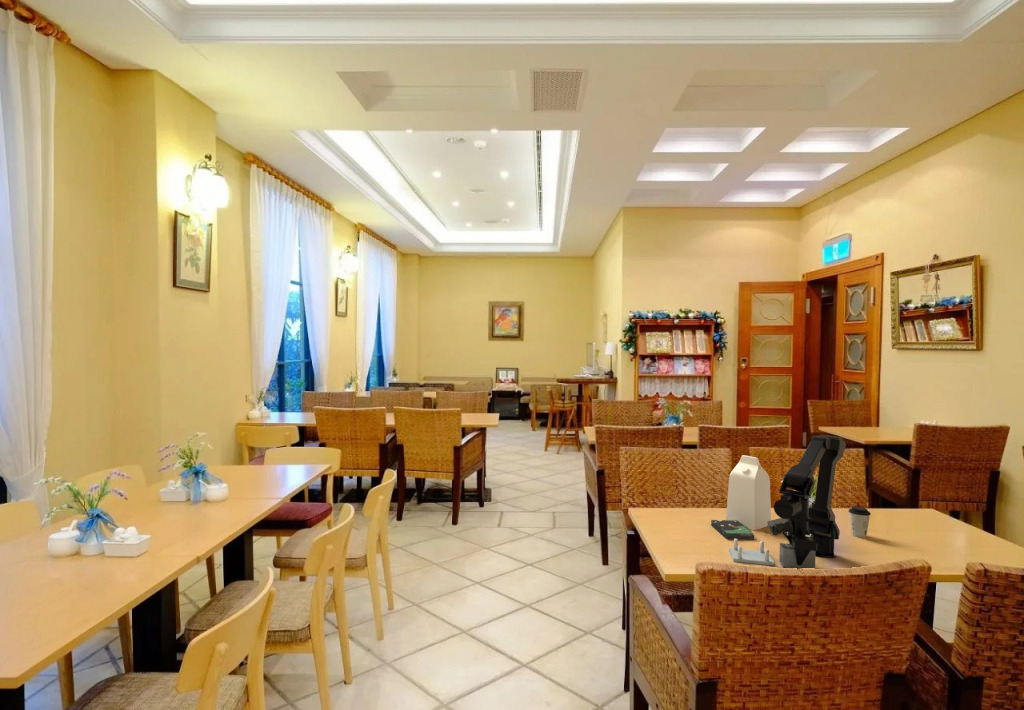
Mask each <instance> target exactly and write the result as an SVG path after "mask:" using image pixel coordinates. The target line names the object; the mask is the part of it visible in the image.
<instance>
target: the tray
mask: <svg viewBox="0 0 1024 710" xmlns="http://www.w3.org/2000/svg"><path fill="white" fill-rule="evenodd" d="M728 552H729V554H730V556H731V559H732V561H733V562H736V563H744V564H745V563H746V564H756V565H767V566H775V561H774V560H773V558H772V556H771V555H770V549H768V548H765V542H764V540H760V541H759V550H754V549H753V550H752V549H743V546H739V539H733V548H732V547H731V548H730V547H728Z"/></svg>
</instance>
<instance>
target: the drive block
mask: <svg viewBox="0 0 1024 710" xmlns="http://www.w3.org/2000/svg"><path fill="white" fill-rule="evenodd" d="M815 555H816V551H814V550H811V551H810V552H809V554H808V555H807V557H806V559H805V560H804V562H803V564H802V565H801V566H800V565H797V561H796V554H795V548H794V547H792V545H791V544H789V543H783V542H779V555H778V556H779V561H778V562H779V563H780V565H781V567H782V568H783V567H785V569H793V568H815V569H816V556H815Z"/></svg>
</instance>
